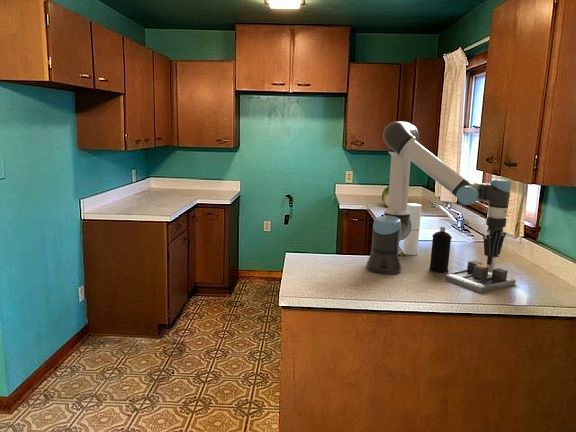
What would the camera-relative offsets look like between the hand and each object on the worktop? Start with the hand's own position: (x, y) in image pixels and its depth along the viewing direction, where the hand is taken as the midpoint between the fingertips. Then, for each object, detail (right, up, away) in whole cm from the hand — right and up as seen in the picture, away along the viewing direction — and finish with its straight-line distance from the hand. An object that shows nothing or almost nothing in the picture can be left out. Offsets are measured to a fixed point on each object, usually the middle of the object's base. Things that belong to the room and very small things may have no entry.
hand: (490, 271), depth 199 cm
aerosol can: (-18, -1, +12) cm, 22 cm away
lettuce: (-3, +31, +177) cm, 180 cm away
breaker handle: (-6, -2, -3) cm, 7 cm away
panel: (-6, -4, -3) cm, 7 cm away
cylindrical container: (-24, +4, +39) cm, 46 cm away
